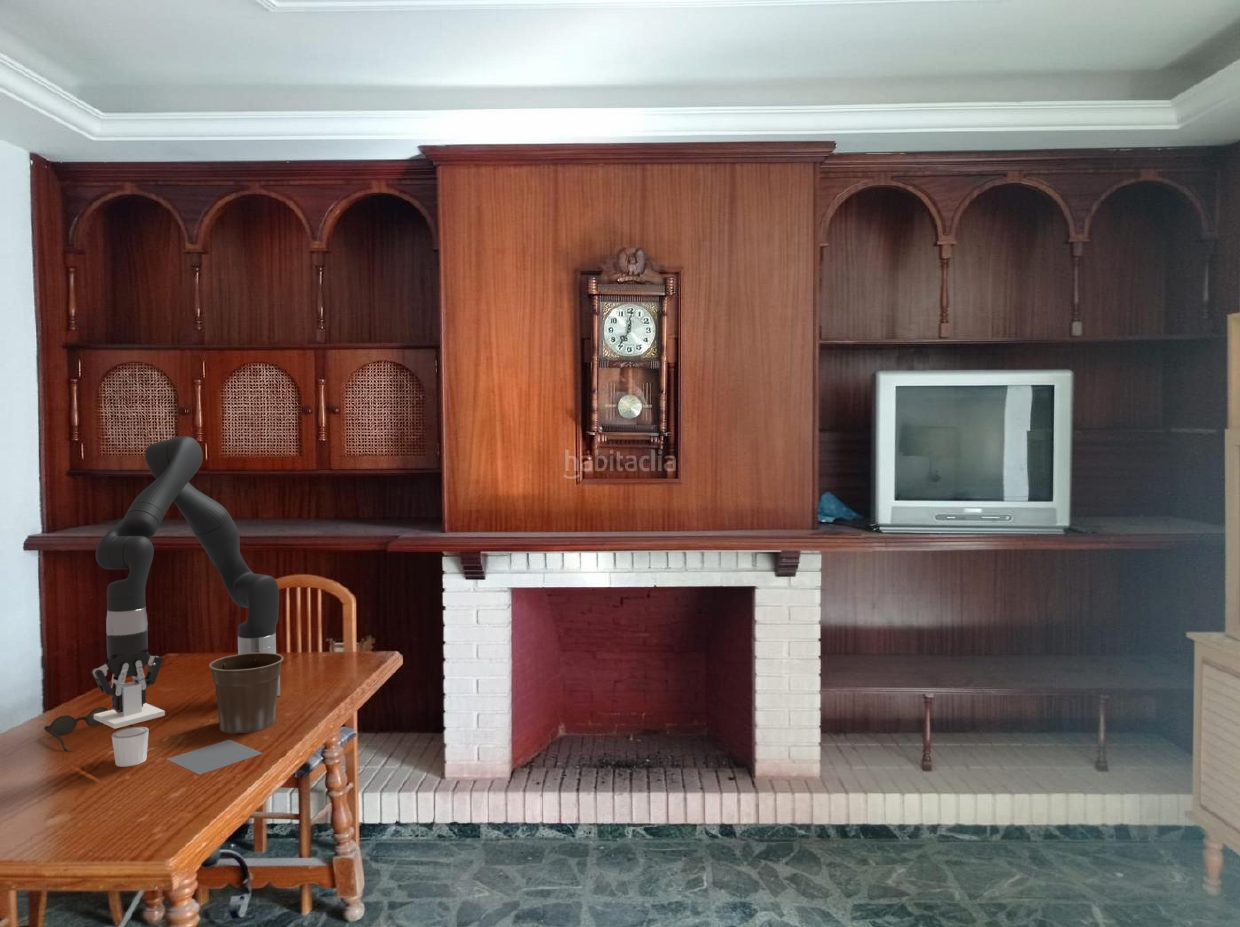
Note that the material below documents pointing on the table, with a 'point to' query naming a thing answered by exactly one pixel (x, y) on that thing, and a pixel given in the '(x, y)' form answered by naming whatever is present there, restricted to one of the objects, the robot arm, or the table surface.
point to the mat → (214, 756)
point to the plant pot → (246, 691)
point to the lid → (129, 709)
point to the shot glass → (130, 746)
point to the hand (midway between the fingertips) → (129, 708)
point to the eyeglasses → (72, 724)
